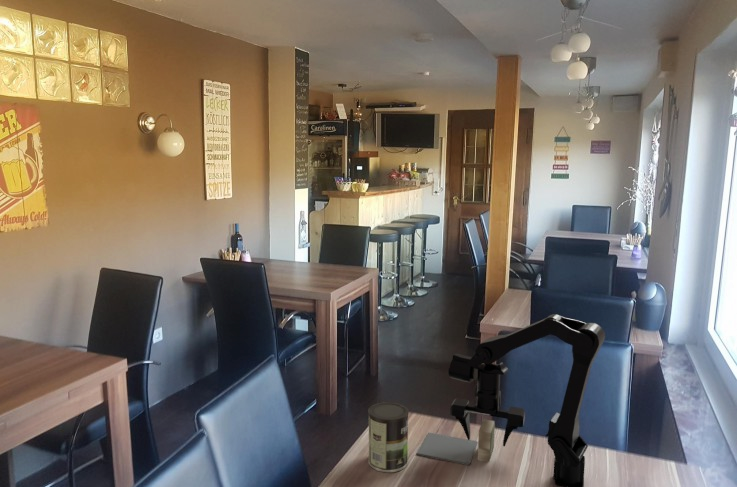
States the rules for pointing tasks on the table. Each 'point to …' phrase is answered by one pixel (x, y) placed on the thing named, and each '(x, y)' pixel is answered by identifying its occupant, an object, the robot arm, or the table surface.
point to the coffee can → (388, 436)
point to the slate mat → (448, 448)
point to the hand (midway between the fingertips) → (486, 442)
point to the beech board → (486, 440)
